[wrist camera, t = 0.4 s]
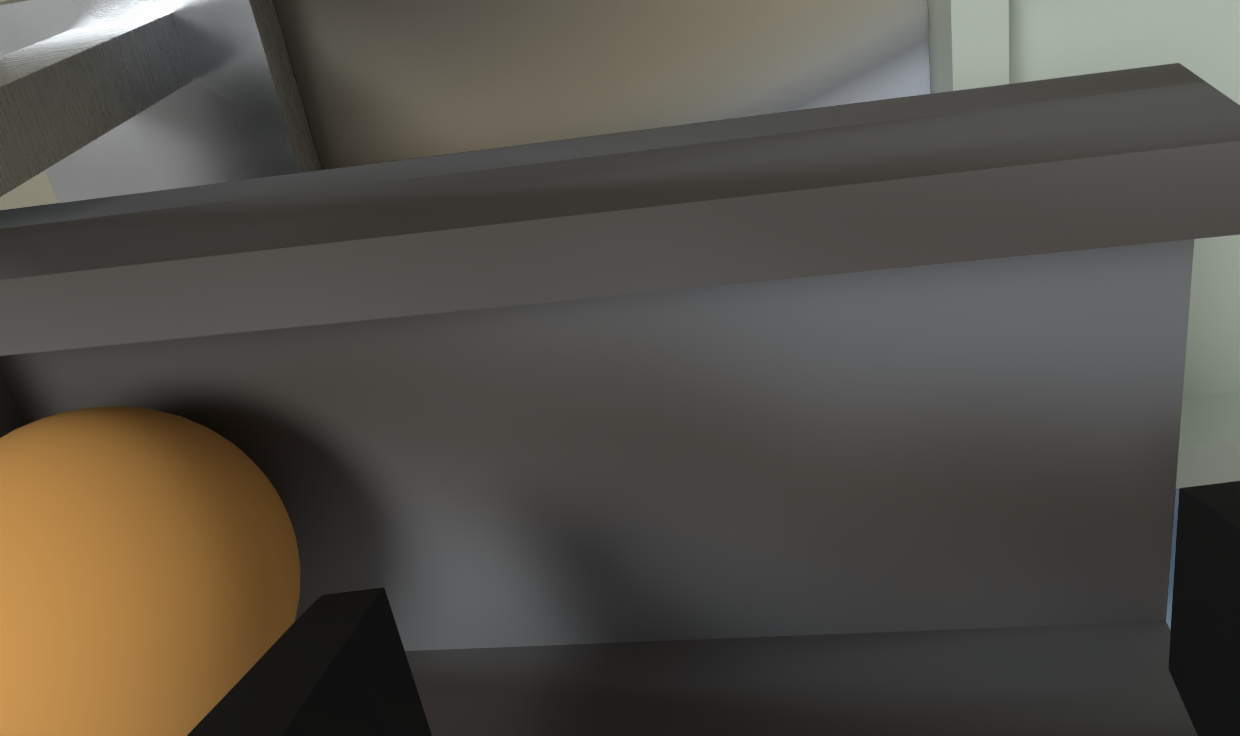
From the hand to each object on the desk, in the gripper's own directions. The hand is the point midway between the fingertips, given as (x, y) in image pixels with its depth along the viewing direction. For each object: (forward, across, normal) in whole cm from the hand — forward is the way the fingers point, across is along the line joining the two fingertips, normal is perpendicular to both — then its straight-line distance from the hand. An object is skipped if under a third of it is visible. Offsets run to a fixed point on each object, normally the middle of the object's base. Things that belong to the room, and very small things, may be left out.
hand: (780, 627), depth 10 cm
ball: (+2, +7, 0) cm, 7 cm away
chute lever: (+4, +3, +2) cm, 5 cm away
